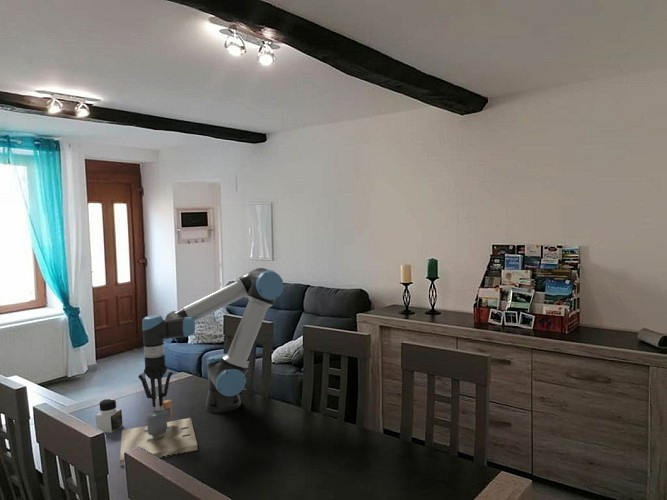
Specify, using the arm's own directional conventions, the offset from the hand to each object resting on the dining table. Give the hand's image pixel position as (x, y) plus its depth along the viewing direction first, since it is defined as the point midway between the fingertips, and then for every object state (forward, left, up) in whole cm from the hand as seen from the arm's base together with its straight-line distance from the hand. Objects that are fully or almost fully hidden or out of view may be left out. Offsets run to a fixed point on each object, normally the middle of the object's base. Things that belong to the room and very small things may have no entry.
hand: (158, 414), depth 198 cm
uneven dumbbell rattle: (-1, +4, -3) cm, 6 cm away
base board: (+1, +9, -8) cm, 12 cm away
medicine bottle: (+19, -13, -8) cm, 24 cm away
